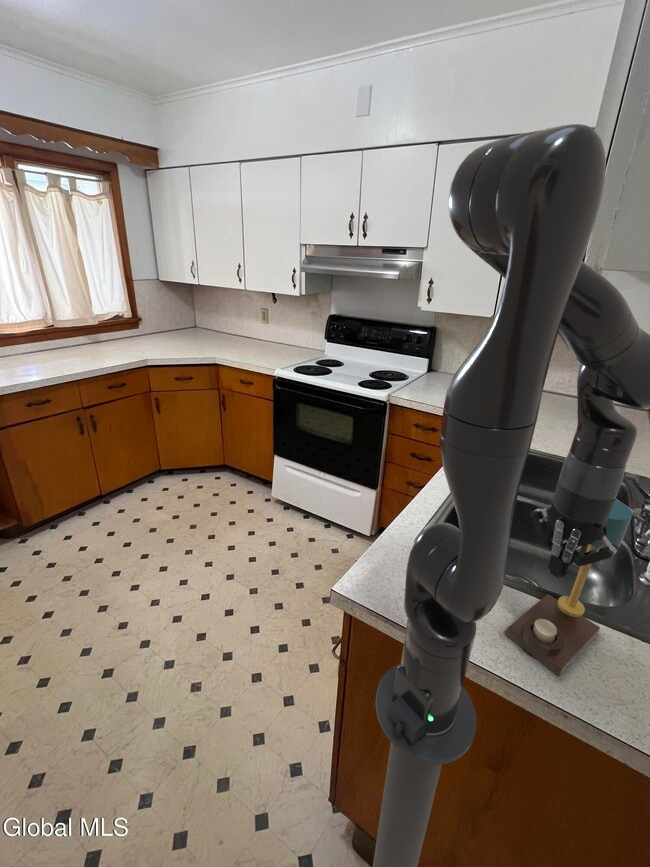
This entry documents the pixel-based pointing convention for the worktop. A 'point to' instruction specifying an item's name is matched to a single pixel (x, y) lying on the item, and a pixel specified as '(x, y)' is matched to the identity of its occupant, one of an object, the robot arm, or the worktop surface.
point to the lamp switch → (544, 630)
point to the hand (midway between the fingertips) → (557, 574)
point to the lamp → (615, 535)
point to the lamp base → (567, 641)
